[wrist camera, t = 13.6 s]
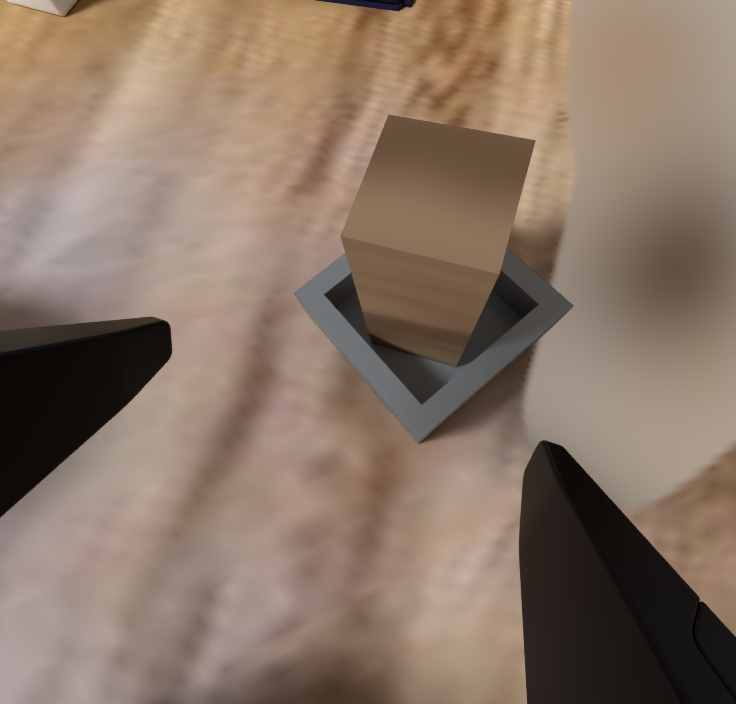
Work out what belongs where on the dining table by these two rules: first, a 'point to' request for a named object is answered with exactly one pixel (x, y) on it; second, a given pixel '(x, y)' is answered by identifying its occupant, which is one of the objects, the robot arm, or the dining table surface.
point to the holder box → (425, 377)
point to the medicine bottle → (47, 5)
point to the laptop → (376, 3)
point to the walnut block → (432, 232)
